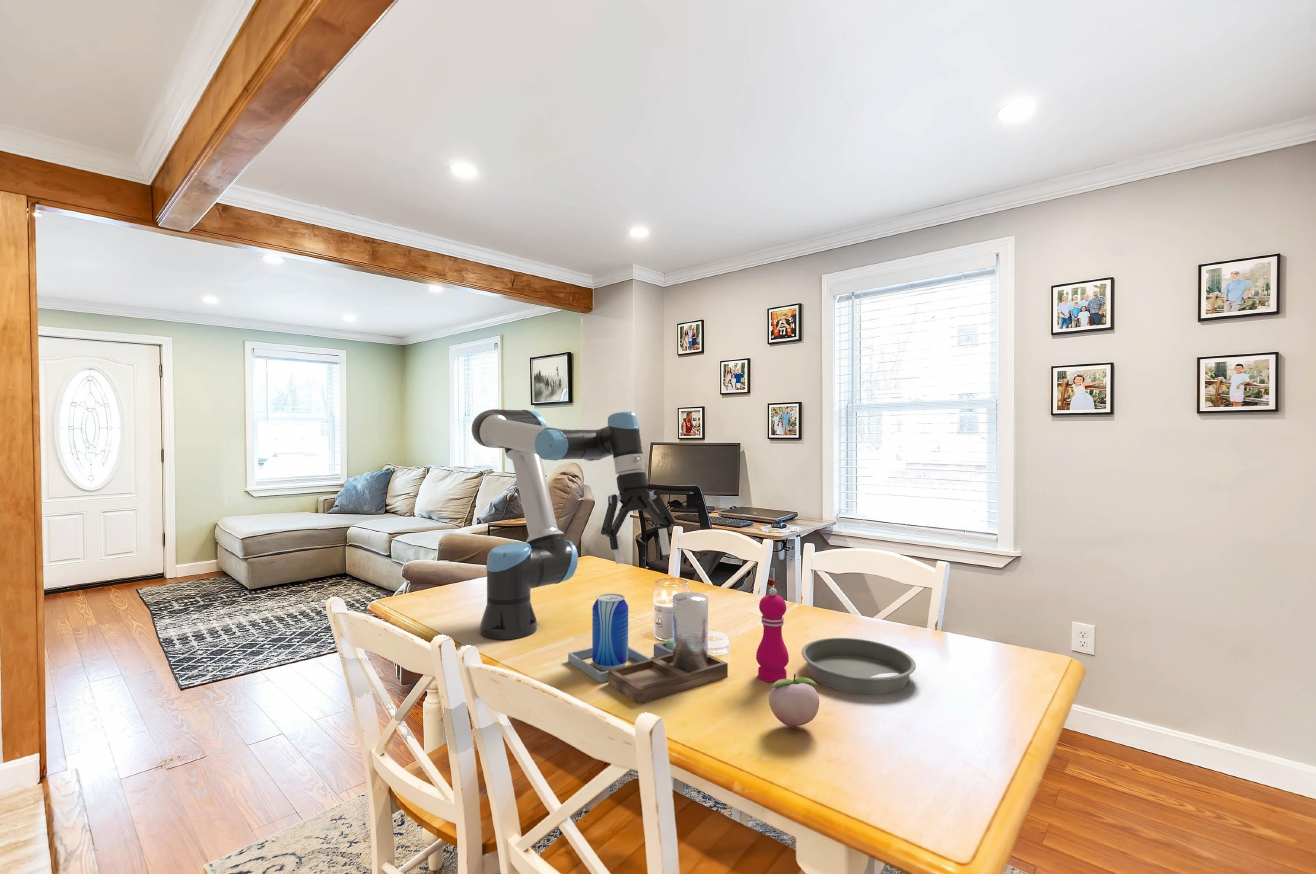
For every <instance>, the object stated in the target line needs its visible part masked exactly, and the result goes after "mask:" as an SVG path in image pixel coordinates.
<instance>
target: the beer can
mask: <svg viewBox="0 0 1316 874" xmlns="http://www.w3.org/2000/svg"><path fill="white" fill-rule="evenodd" d="M591 615H592V625H591V626H592V632H591V633H592V635H591V637H592V638H591V639H592V643H591V645H592V646H591V648H592V657H591V660H592V663H593V664H594V665H595V667H596V669H597V670H601V671H608V670H611V669H615V668H619V667H623V666H626V663H627V662H628V661H629V656H628V647H629V605H628V603H627V601H626V599H625V596H624V594H620V593H603V594H599V595H597V596H596V601H595V602H594V603H593V605H592V614H591Z"/></svg>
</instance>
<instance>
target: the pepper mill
mask: <svg viewBox="0 0 1316 874" xmlns="http://www.w3.org/2000/svg"><path fill="white" fill-rule="evenodd" d="M777 593H778V591H777V589H776V588H774V587H772V588H769V590H768V594H766V595H764V596H763V597H762V598H761V599H760V600H759V604H758V606H759V607H758V608H759V611H760V613H761V614H762V615H761V617H760V618H761V621H760V622H761V624H762V627H763V632H762V633H763V634H762V638H761V640H760V643H759V645H758V647H757V649H756V653H755V660H756V662H757V664H758V665H759V667H758V669H757V670H758V671H757V673H758V675H757V676H758V678H759V679H760V680H762V681H764V682H767V683H773V684H774V683H775V682H776V681H778V680H780V679H788V678H787V672H788V671H787V669H786V666H787V665H789V664H788V663H789V661H790V659H789V656H790V655H789V652H788V649H787V646H786V644H785V642H784V639H783V634H782V629H783V625H784V624H785V621H784V620H785V617H784V615H785V614H786V611H787V603H786V601H785V599H784V598H783V597H782V596H780V595H777Z"/></svg>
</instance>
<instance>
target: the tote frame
mask: <svg viewBox="0 0 1316 874" xmlns="http://www.w3.org/2000/svg"><path fill="white" fill-rule="evenodd" d="M587 658H592V647H589V648H585V649H580V650H576V651H572V652H571V651H570V652H568V653H567V662H568V663H570V664H571V665H572V666H575V668H578V669H579V670H580V671H582V672H583V673H584V674H586V675H588V676H589V677H590V678H593V680H595V681H597V682H598V683H600V684H603V683H606V682H608V671H606V670H604V671H600V669H598V668H595V667H594V666H593V665H590V663H588V662H586V661H584V659H587ZM628 658H631V659H632V658H633V659H632V660H634V659H635V660H634V661H636V660H637V661H636V662H637V663H638V662H641V661H645V660H649V659H652V658H650V657H649V656H647V655H645V654H643V653H642V652H640V651H638V650H636V649H634V648H632V647H630V646H628Z"/></svg>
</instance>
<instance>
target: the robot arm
mask: <svg viewBox="0 0 1316 874" xmlns="http://www.w3.org/2000/svg"><path fill="white" fill-rule="evenodd" d="M471 434H472V437H473V439H474V440H475V441H476V443H477V444H479V446H483V447H486V448H493V449H504V452H505V456H506V458H507V459H509V460H511V461H512V464H513V468H514V475H515V478H516V483H517V488H518V491H519V496H520V501H521V506H522V510H523V515H524V519H525V524H526V528H527V529H526V530H527V533H528V537H527V539H526V541H524V542H523V541H520V542H519V541H517V542H509V543H503V544H500V545H497V546H495V547H493V548H491V550H490V551H488V553H487V558H486V606H485V608H484V609H485V610H484V613H483V615H482V619H481V622H480V625H479V629H480V630H479V631H480V632H479V633H480V635H481V636H482V637H484V638H487V639H492V640H512V639H519V638H523V637H527V636H530V635H533V634H534V633H535V632H536V631H537V629H538V628H537V627H538V623H537V622H538V621H537V617H536V614H535V611H534V608H533V606H532V601H531V590H532V589H535V588H539V587H545V586H549V585H558V584H560V583H562V582H566V581H568V580H570V579H571V578H572V577H573V576H574V575H575V573H576V570H577V568H578V564H579V555H578V549H577V547H576V545H575V544H574V543H573V542H572V541H571V540H567V539H566V535H565V532H563V531H562V530H560V529H559V528H558V524H557V519H556V516H555V511H554V507H553V501H552V498H551V495H550V489H549V485H548V481H547V477H546V473H545V468H544V464H543V460H546V461H547V460H548V461H559V460H585V461H587V462H593V461H600V460H602V459H604V458H608V457H611V456H612V458H613V466H614V471H615V472H614V473H615V474H616V476H617V477H616V478H615V479H616V485H617V486H616V487H617V491H618V493H619V494H616V493H615V494H611V495H608V497H607V502H608V503H607V504H608V505H607V509H606V513H605V517H604V519H603V524H602V526H601V531H600V534H601V535H602V536H607V538H609V539H608V540H609V545H610V550H611V551H613V552H614V559H615V564H617V565H619V564H624V563H625V559H624V552H623V551H624V550H623V544H622V538H621V535H617V534H618V533H619V532H620V530H621V527H622V525H623V523H624V522H625V520H626V518H627V515H628V514H630V512H634V511H643V512H645V513H646V514H647V515H648V516H650V518H651V519H652V520H653V521H654V522H655V523H656V524H657V525H658V526H659V527H660V528H658V537H659V541H660V542H659V543H660V549H661V554H662V556H666V555H671V554H672V553H671V548H670V541H671V535H670V534H671V533H670V528H671V527H672V525H675V523H676V520H675V519H674V517H673V515H672V514H671V512H670V510H669V509H668V508H667V505H665V502H664V501H663V499H662V497H661V493H660V490H659V489H654V490H650V491H649V489H648V484H649V483H648V478H647V477H648V476H647V473H646V472H645V469H646V466H645V460H644V453H643V449H642V448H643V447H642V440H641V434H640V426H639V422H638V418H637V415H636V413H635V412H634V411H620V412H616V413H615V412H613V413H612V414H610V415H609V416H607V426H605V427H601V428H599V429H563V428H555V427H550V426H548V424H547V422H546V420H545V418H544V417H543V415H542V414H540V413H539V412H537V411H534V410H528V409H494V408H493V409H487V410H484V411H482V412H480V413H479V414H477V416H476V417H474V420H473V421H472V424H471ZM650 499H651V501H652V503H653V504H652V503H651V502H650ZM619 503H621V506H620V507H619V510H618V513H617V515H616V511H617V508H618V504H619ZM615 515H616V517H615Z"/></svg>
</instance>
